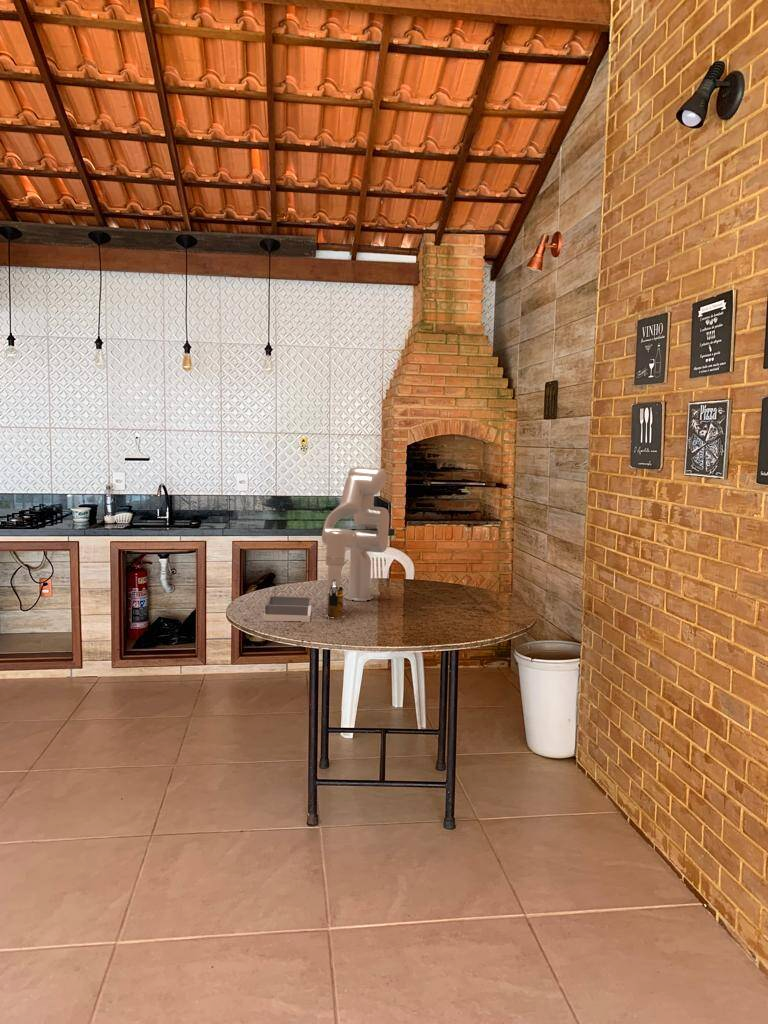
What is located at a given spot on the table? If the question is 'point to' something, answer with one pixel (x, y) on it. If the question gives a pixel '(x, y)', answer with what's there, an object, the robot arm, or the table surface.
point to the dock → (287, 609)
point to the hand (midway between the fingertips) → (333, 603)
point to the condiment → (336, 610)
